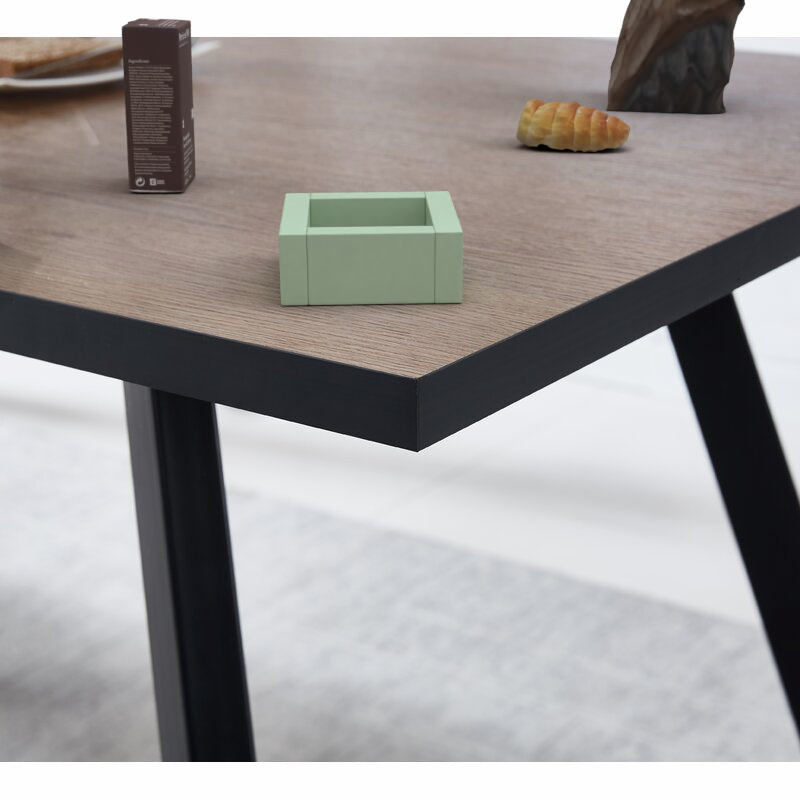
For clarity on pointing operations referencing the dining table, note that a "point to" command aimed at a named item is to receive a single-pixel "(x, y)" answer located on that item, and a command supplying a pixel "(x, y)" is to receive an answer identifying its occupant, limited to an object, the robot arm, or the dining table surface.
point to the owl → (674, 56)
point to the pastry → (570, 127)
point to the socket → (370, 248)
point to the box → (158, 104)
